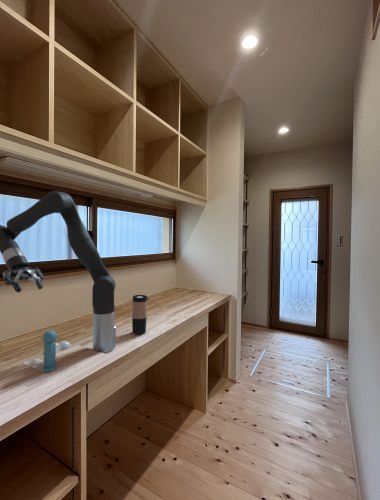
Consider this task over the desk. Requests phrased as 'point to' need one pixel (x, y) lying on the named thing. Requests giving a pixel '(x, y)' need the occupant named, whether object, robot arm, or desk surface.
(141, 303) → the travel mug
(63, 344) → the die tray
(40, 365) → the track board
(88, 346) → the desk surface
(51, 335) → the pawn
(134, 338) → the desk surface
